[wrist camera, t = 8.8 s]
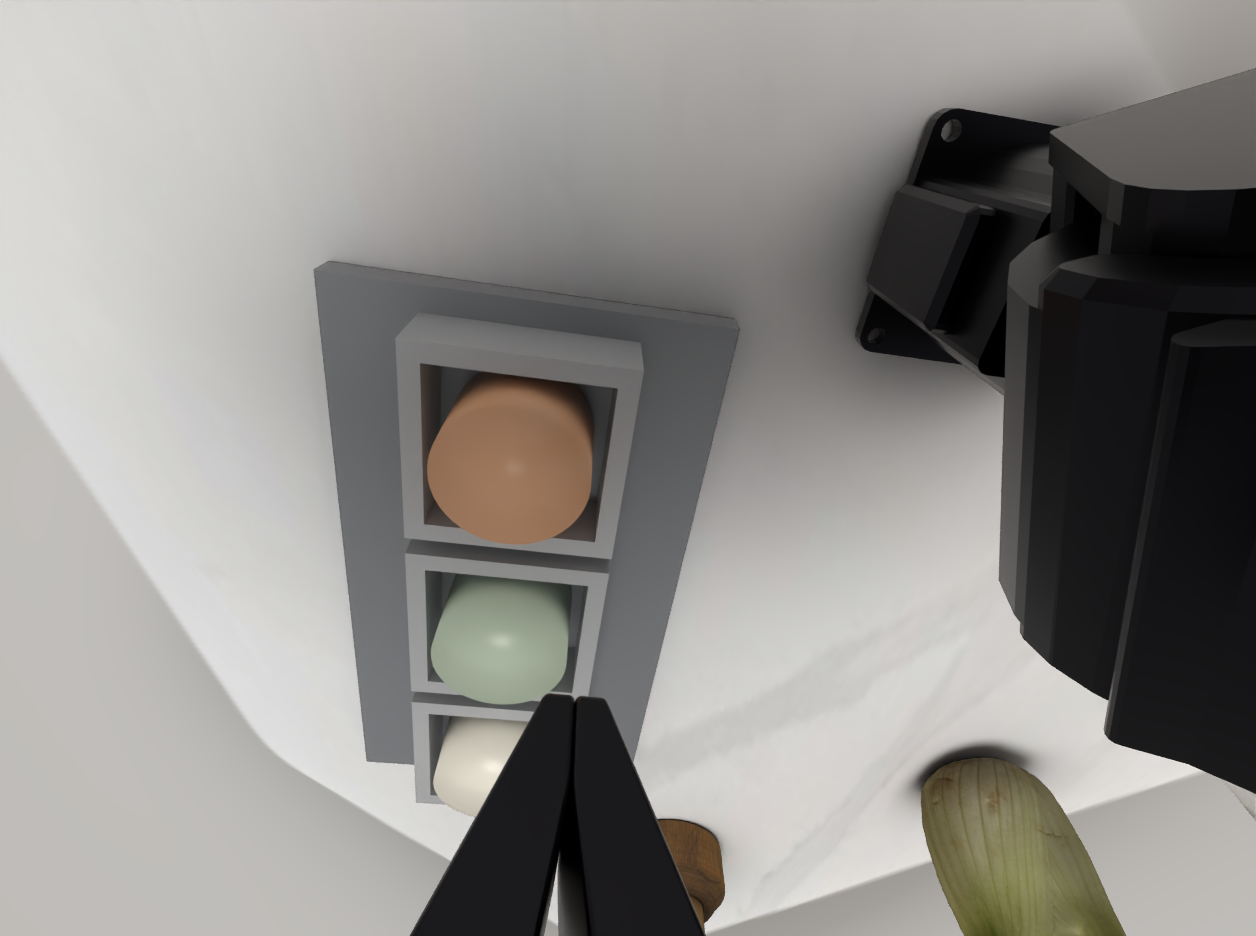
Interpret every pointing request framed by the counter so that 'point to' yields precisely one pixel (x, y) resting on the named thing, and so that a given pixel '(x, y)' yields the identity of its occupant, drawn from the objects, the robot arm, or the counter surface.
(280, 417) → the counter surface
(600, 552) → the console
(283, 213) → the counter surface
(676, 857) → the mortar and pestle
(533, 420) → the button terracotta
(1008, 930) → the fennel bulb
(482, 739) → the button cream
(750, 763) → the counter surface
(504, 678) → the button sage
